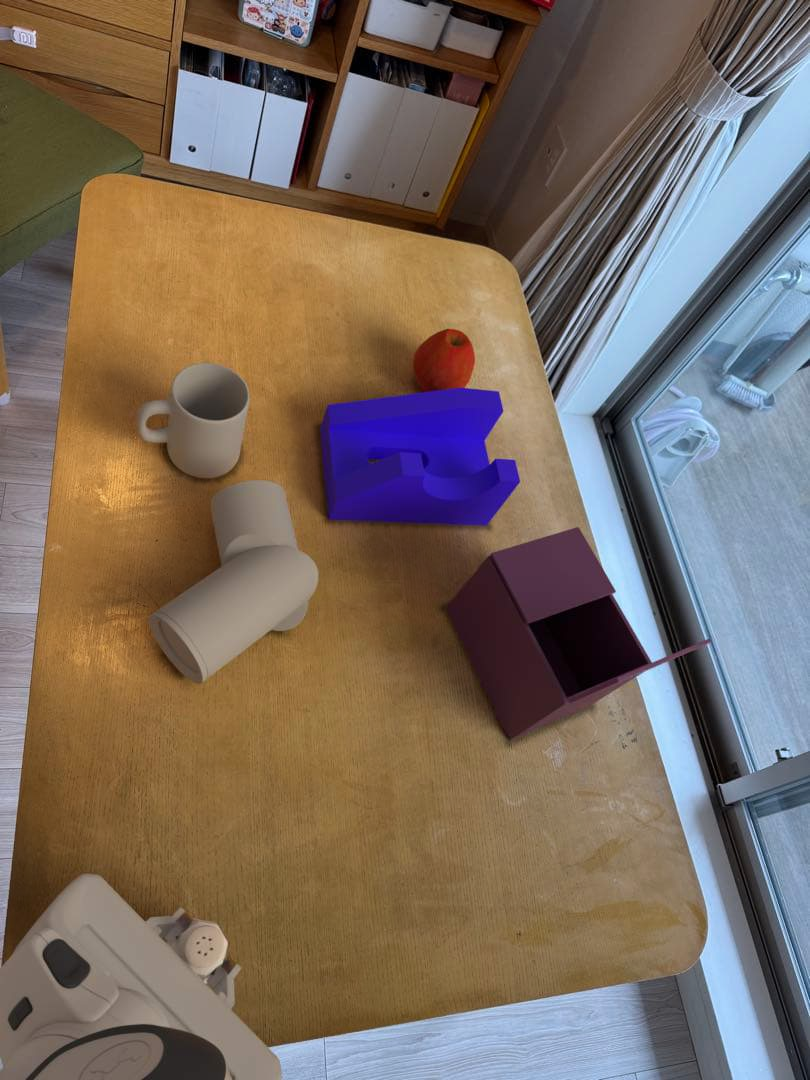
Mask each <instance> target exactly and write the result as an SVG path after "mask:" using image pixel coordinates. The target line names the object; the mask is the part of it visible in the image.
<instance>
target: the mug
mask: <svg viewBox="0 0 810 1080" xmlns="http://www.w3.org/2000/svg"><path fill="white" fill-rule="evenodd" d="M250 403H251V394H250V389H249V387H248V385H247V383H246V381H245V380H244V378H243V377H242V376H241V375H240V374H238V372H236V371H235V370H233V369H231V368H229V367H228V366H225V365H223V364H220V363H215V362H199V363H194V364H190V365H187V366H186V367H184V368H182V369H181V370H180V371H179V372H178V373H176V376H175V377H174V378H173V381H172V383H171V386H170V392H169V397H168V398H164V399H155V400H150V401H147V402H145V403H144V404H143V405H141V407H140V408H139V410H138V413H137V416H136V428H137V433H138V435H139V437H140V438H141V439H142V440H143V441H144V442H147V443H153V444H161V443H162V444H163V443H165V444H166V449H167V454H168V457H169V459H170V461H171V462H172V463H173V465H174V466H175V467H176V468H177V469H179V471H181V472H183V473H184V474H185V475H186V474H187V475H188V476H192V477H194V478H199V479H213V478H214V479H215V478H218V477H221V476H224V475H226V474H227V473H229V472H230V471H231V470H233V468H234V467H235V466H236V465H237V463H238V461H239V459H240V455H241V450H242V442H243V438H244V432H245V427H246V422H247V418H248V412H249V408H250ZM155 415H167V416H168V422H167V426H166V427H164V428H158V429H152V428H148V427H147V421H148V419H149V418H150V417H152V416H155Z"/></svg>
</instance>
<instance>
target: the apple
mask: <svg viewBox="0 0 810 1080" xmlns="http://www.w3.org/2000/svg"><path fill="white" fill-rule="evenodd" d="M412 362H413V363H412V367H413V371H414V375H415V378H416V381H417V383H418V385H419V387H420V388H421V390H422V391H423V392H431V391H438V390H446V389H454V388H466V386H467V385H468V383H469V382H470V380H471V378H472V374H473V373H474V372H473V371H474V367H475V363H476V355H475V350H474V346H473V343H472V341H471V340H470V338H469V337H468V336H467V335H466V334H465V333H464V332H463V331H461V330H458V329H455V328H445V329H443V330H440V331H436V333H433V334H432V335H430V336H428V338H427V339H425V340H424V341H423V342H422V343H420V345H419V347H417V349H416V352H415V353H414V355H413V361H412Z"/></svg>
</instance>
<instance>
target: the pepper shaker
mask: <svg viewBox="0 0 810 1080" xmlns="http://www.w3.org/2000/svg"><path fill="white" fill-rule="evenodd" d="M191 918H192V919H193V921H192V923H191V924H190V925H189V926H188V927H187V928H186V929H185V930H184V931H183V932H182V933H181V934H180V936H179V937H178V938H177V939H176V941H175V942H174V943H173V944H172V945H170V944H169V943H168V942H167V941H166V944H167V945H168V946H169V947H170V948H171V949H172V950H173V951H174V952H175V953H176V954H177V955H178V956H179V957H180V958H181V959H182V960H183V961H184V962H185V963H186V964H187V965H188V966H189V967H190V968H191V969H192V970H193V971H194V972H195V973H196V974H197V975H198V976H199V977H200V978H201V979H202V980H203V981H204V982H205V984H206V985H207V984H208V983H207V981H206V980H207V979H208V978H209V976H210V975H211V974H212V973H213V972H214V971H215V970H216V969H217V968H218V967H219V966H220V965H221V964H222V963H223V960H224V958H225V957H226V956H227V950H228V946H229V943H228V940H227V939H226V936H225V935H224V933H223V931H222V929H221V928H220V925H219V924H218V923H217V922H216V921H211V920H205V919H199V918H194V917H191Z"/></svg>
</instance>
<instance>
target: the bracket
mask: <svg viewBox="0 0 810 1080" xmlns="http://www.w3.org/2000/svg"><path fill="white" fill-rule="evenodd" d="M503 413H504V406H503V403H502V399H501V395H500V391H499V390H489V389H481V388H480V389H479V388H468V387H465V388H454V389H446V390H438V391H431V392H424V391H423V392H417V393H416V392H415V393H409V394H401V395H393V396H385V397H379V398H378V397H377V398H371V399H361V400H354V401H347V402H339V403H332V404H327V406H326V409H325V412H324V415H323V417H322V421H321V424H320V427H319V435H320V444H321V455H322V464H323V465H322V466H323V476H324V486H325V497H326V507H327V517H328V520H329V521H349V522H351V521H352V522H353V521H354V522H375V523H376V522H381V523H406V524H428V525H429V524H430V525H431V524H432V525H456V526H457V525H459V526H488V525H489V524H490V522H491V521H492V519H494V517H495V516H496V514H497V513H498V512H499V511H500V509H501V508H502V506H503V505H504V504H505V502H506V501H507V500H508V499H509V497H510V496H511V495H512V494H513V492H514V491H515V490H516V488H517V487H518V486H519V485H520V483H521V478H520V474H519V470H518V466H517V462H516V459H508V458H494V459H493V461H491V463H490V460H489V455H488V449H487V445H486V440H487V438H488V437H489V435H490V433H491V432H492V430H493V429H494V427H495V426H496V424H497V422H498V421H499V419H500V417H501V416H502V414H503ZM369 460H377V461H374V462H370V461H369Z"/></svg>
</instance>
